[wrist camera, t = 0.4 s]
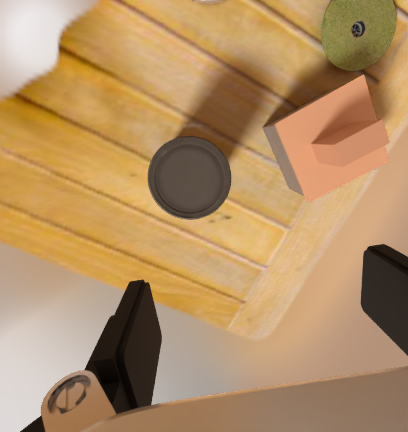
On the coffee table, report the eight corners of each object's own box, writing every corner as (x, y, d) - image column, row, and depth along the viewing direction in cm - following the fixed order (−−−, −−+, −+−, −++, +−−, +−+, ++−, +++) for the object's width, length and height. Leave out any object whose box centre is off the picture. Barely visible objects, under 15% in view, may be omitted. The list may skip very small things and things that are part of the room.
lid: (272, 124, 35) (291, 120, 28) (357, 76, 34) (400, 60, 27) (304, 200, 39) (329, 214, 32) (382, 160, 37) (426, 165, 30)
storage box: (262, 127, 42) (277, 125, 34) (328, 91, 41) (359, 79, 33) (289, 188, 45) (308, 198, 38) (350, 156, 44) (383, 160, 36)
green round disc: (302, 54, 39) (307, 50, 37) (340, -27, 36) (348, -36, 34) (360, 86, 41) (368, 83, 39) (401, 11, 38) (412, 4, 36)
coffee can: (162, 134, 42) (147, 132, 28) (222, 139, 42) (235, 139, 29) (161, 193, 45) (147, 217, 31) (217, 197, 45) (226, 222, 32)
